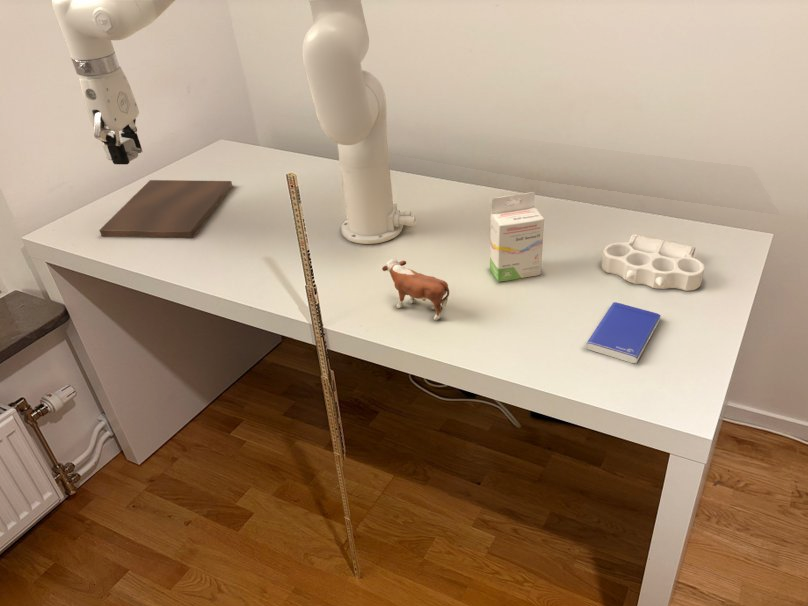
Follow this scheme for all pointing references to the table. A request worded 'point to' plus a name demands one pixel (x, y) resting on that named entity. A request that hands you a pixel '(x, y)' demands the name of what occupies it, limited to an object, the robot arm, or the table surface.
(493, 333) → the table surface
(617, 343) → the hard drive
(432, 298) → the bull figurine
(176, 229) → the walnut board
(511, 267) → the ink box
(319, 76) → the robot arm
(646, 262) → the white brass knuckles
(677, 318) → the table surface
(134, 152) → the usb wall charger
